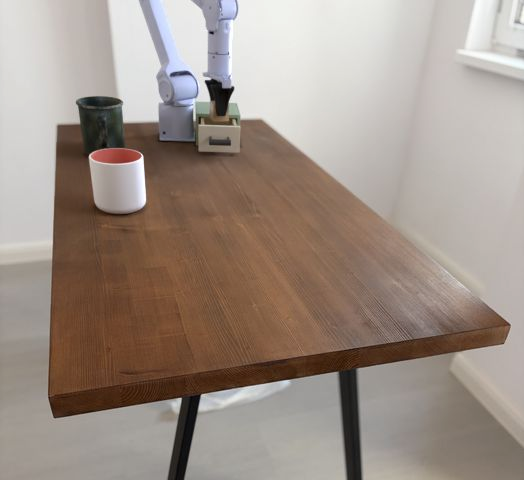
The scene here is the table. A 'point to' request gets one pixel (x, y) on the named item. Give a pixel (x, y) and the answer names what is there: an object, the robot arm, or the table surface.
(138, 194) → the cup
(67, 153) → the table surface
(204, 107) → the cabinet
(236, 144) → the drawer
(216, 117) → the block
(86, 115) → the mug
